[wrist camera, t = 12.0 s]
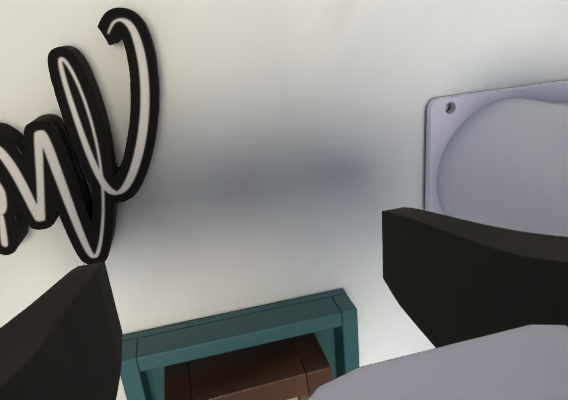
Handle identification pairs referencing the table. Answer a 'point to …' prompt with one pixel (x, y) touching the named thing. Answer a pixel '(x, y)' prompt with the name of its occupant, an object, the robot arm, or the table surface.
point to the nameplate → (80, 148)
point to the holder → (241, 338)
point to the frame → (252, 373)
